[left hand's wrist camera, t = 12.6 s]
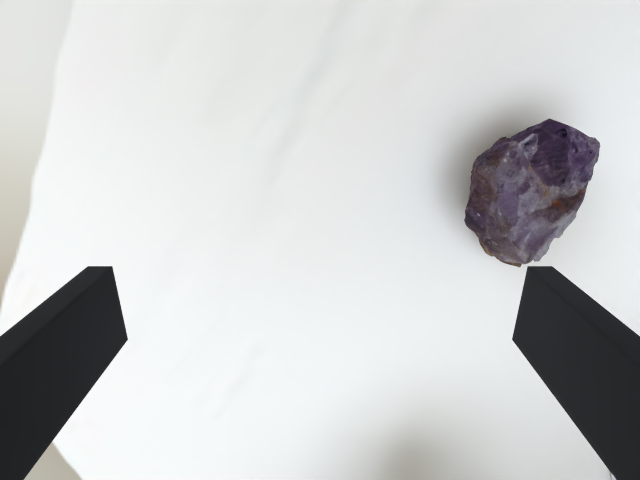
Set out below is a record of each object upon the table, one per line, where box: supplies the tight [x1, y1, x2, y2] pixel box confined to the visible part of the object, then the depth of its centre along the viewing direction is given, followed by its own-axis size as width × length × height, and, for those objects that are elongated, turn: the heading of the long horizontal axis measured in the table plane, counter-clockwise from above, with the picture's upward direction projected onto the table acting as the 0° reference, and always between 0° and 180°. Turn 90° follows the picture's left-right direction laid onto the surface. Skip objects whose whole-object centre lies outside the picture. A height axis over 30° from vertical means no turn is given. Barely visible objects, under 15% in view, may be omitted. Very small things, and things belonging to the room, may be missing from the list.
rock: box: [464, 119, 600, 267], centre depth 33 cm, size 12×9×10 cm
